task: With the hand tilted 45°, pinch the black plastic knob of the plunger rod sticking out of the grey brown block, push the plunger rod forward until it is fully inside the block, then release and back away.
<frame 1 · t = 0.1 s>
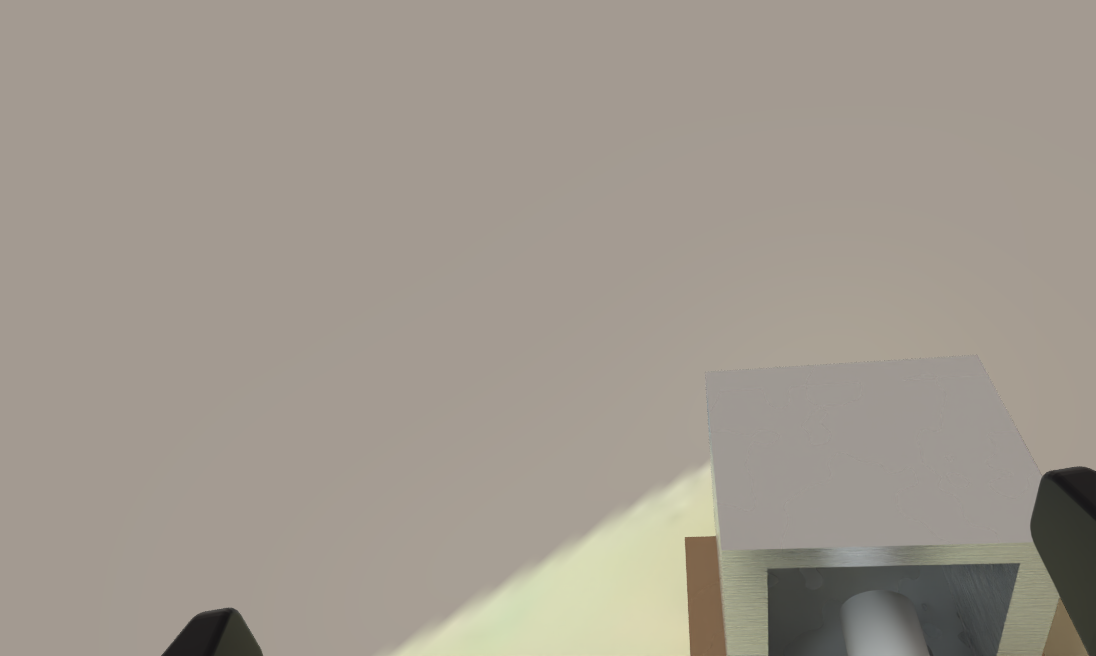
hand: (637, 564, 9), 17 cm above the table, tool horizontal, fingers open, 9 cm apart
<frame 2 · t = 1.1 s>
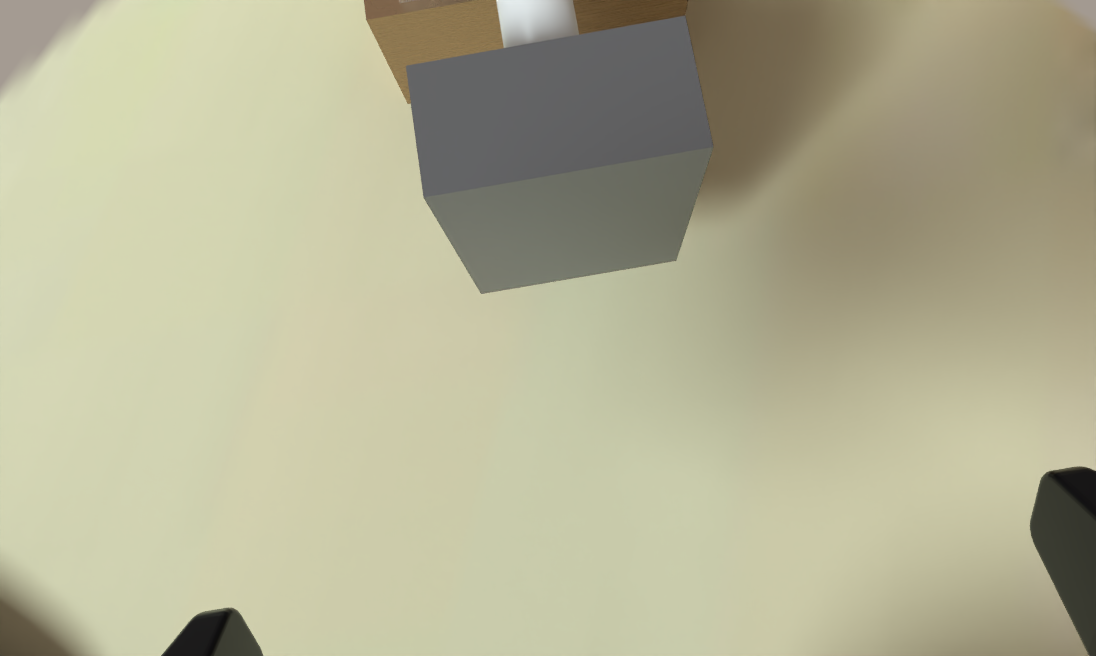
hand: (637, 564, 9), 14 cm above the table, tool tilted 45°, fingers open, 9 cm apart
plunger: (544, 64, 18), point 6 cm above the table, slide at 0.0 cm
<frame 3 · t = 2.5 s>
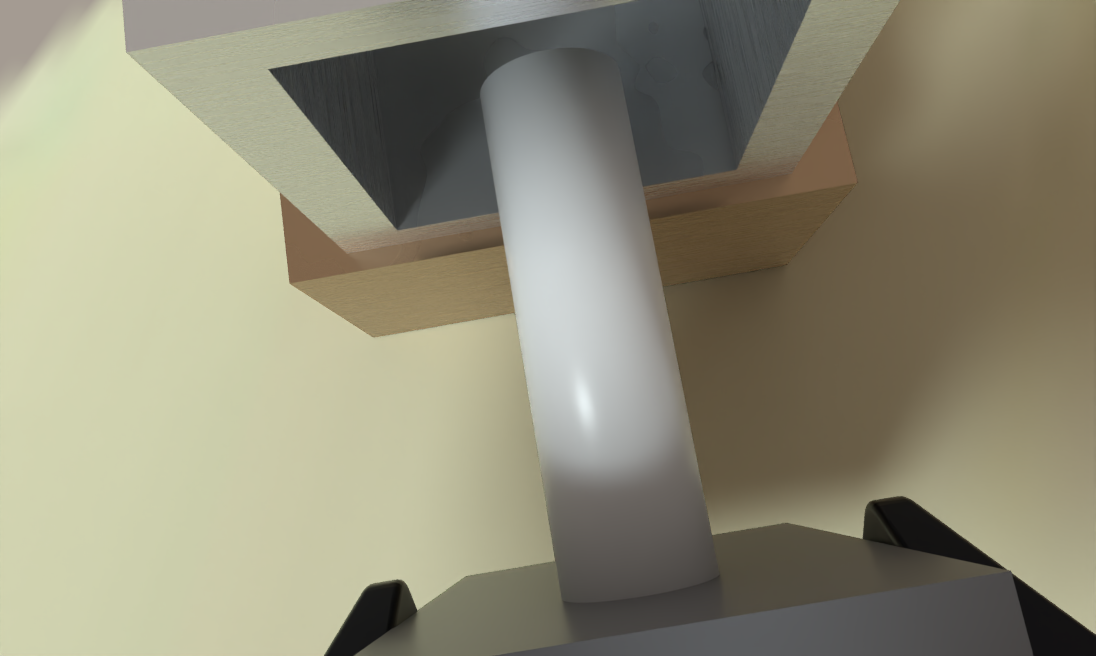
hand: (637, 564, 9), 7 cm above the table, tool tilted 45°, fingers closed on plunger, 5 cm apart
grey brown block: (552, 157, 17), on the table
plunger: (611, 441, 10), point 7 cm above the table, slide at 0.0 cm, touching gripper
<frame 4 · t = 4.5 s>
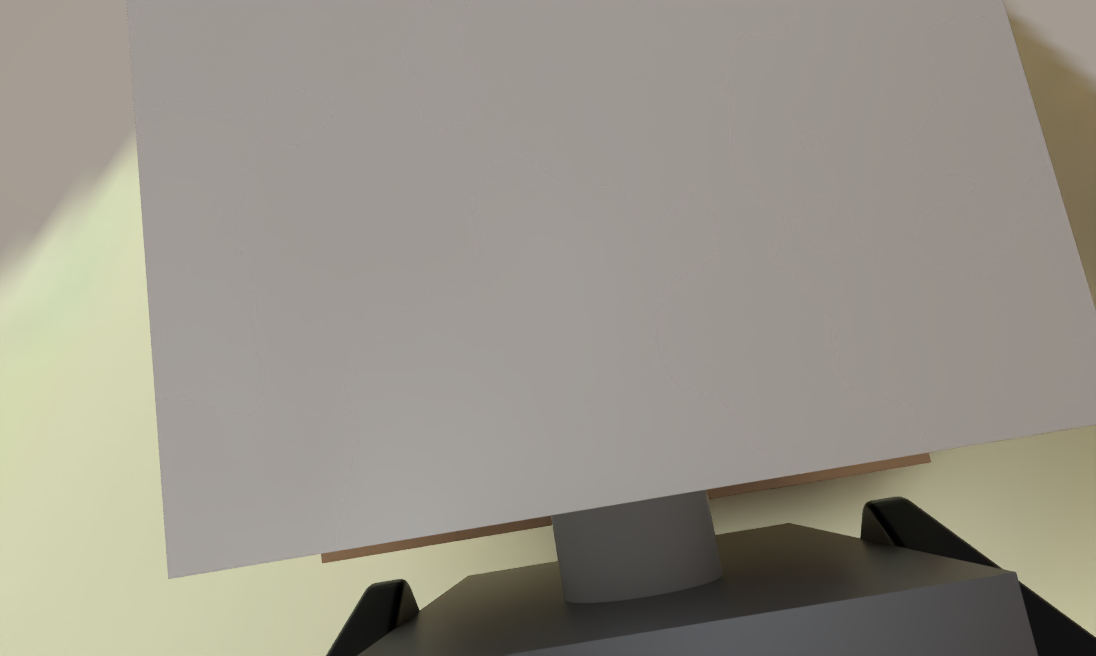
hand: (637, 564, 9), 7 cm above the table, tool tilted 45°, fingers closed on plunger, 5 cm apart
grey brown block: (588, 346, 16), on the table
plunger: (614, 441, 10), point 7 cm above the table, slide at 4.0 cm, touching gripper
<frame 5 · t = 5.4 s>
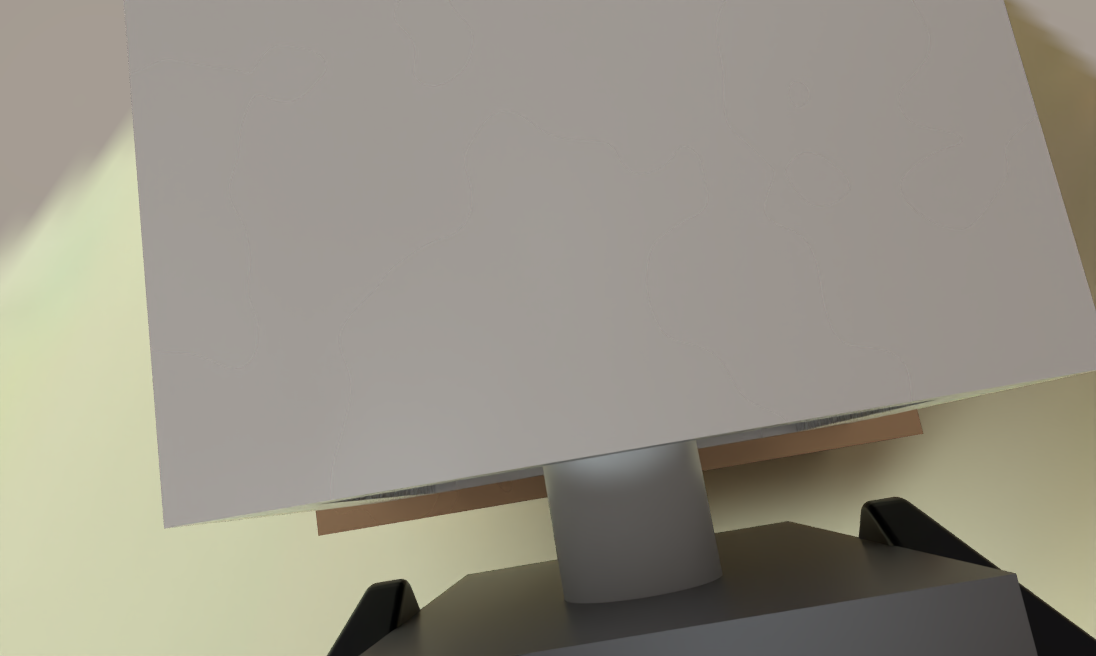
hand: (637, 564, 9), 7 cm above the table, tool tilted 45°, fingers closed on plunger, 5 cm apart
grey brown block: (584, 326, 16), on the table
plunger: (613, 441, 10), point 7 cm above the table, slide at 3.7 cm, touching gripper
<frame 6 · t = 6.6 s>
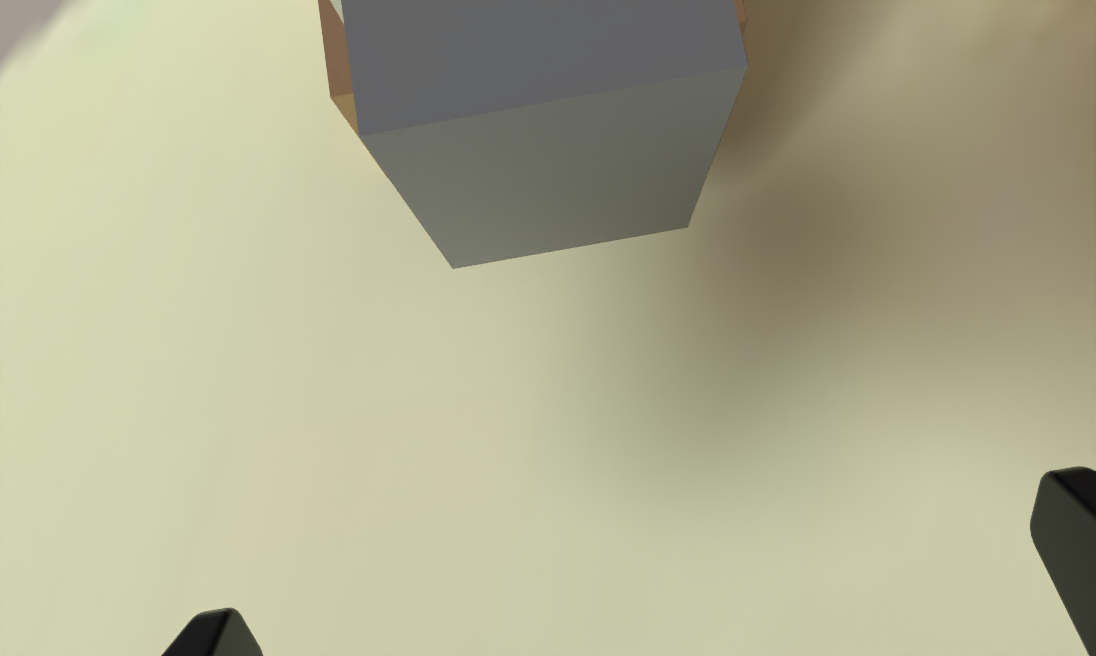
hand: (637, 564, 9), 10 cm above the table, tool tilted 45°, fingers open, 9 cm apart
grey brown block: (530, 37, 21), on the table
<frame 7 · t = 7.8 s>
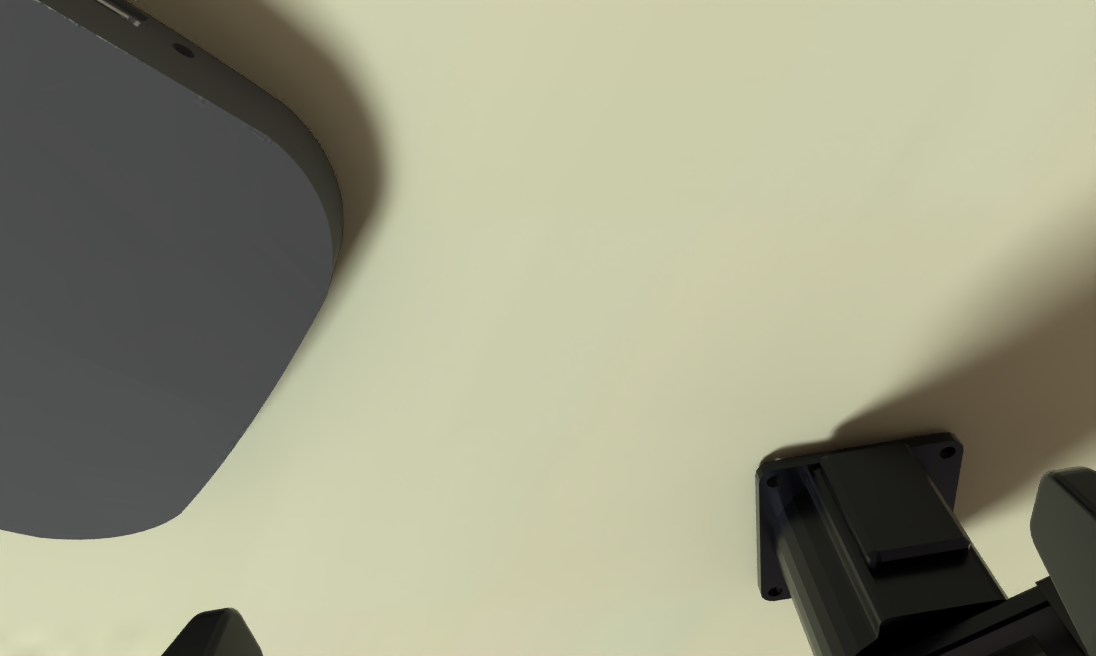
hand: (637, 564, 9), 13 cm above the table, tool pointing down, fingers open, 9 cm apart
media streaming box: (4, 230, 21), on the table
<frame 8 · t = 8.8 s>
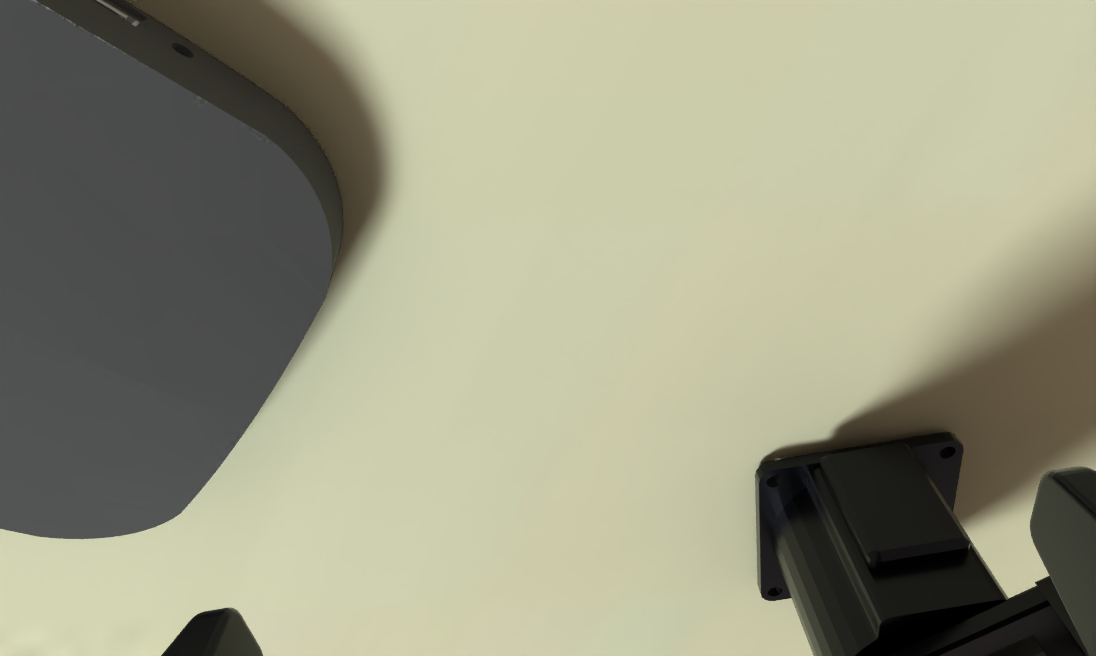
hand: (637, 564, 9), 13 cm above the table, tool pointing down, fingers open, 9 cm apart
media streaming box: (4, 230, 21), on the table
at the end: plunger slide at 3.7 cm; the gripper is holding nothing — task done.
